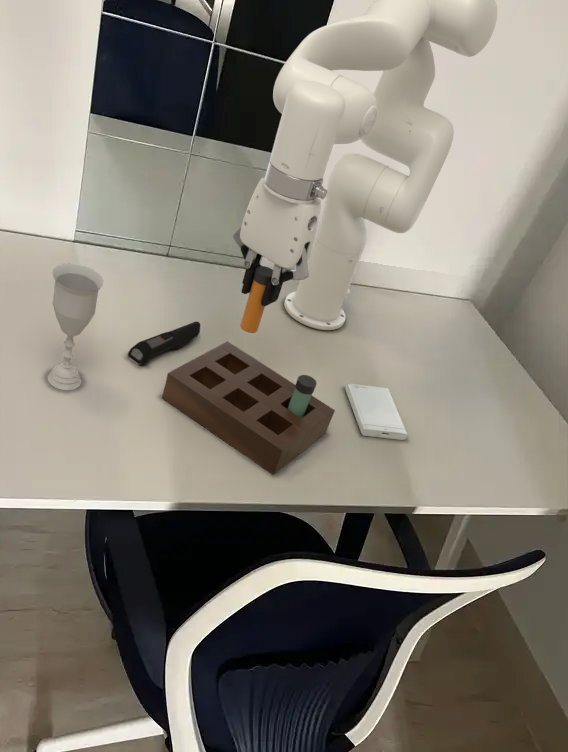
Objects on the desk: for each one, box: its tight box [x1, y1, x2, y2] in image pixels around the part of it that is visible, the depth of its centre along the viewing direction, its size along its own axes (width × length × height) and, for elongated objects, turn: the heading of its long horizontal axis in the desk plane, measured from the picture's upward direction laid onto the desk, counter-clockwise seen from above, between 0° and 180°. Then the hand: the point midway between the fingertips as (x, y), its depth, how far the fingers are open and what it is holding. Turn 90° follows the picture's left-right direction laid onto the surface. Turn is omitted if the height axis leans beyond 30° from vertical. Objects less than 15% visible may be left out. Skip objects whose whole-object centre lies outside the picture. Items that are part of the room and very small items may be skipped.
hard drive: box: [344, 383, 409, 441], centre depth 137 cm, size 2×8×12 cm
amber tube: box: [239, 265, 273, 334], centre depth 119 cm, size 3×3×10 cm
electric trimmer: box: [127, 321, 201, 366], centre depth 134 cm, size 4×16×3 cm, turn 142°
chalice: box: [47, 262, 104, 391], centre depth 116 cm, size 7×7×18 cm
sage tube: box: [288, 374, 318, 418], centre depth 124 cm, size 3×3×10 cm
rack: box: [161, 340, 336, 475], centre depth 126 cm, size 16×22×5 cm
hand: (258, 296), depth 119 cm, fingers closed on amber tube, 3 cm apart
